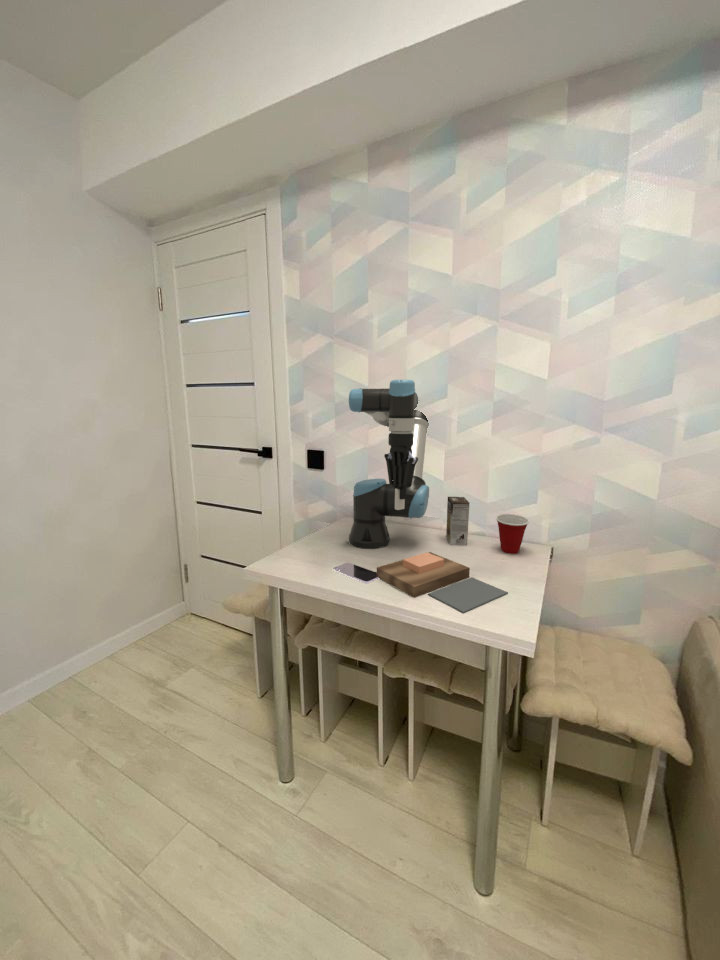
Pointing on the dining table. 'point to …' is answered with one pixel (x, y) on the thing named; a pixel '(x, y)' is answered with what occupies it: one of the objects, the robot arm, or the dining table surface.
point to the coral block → (423, 562)
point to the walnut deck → (422, 576)
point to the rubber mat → (467, 594)
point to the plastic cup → (511, 531)
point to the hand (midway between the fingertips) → (399, 508)
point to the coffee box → (457, 520)
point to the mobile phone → (357, 572)
